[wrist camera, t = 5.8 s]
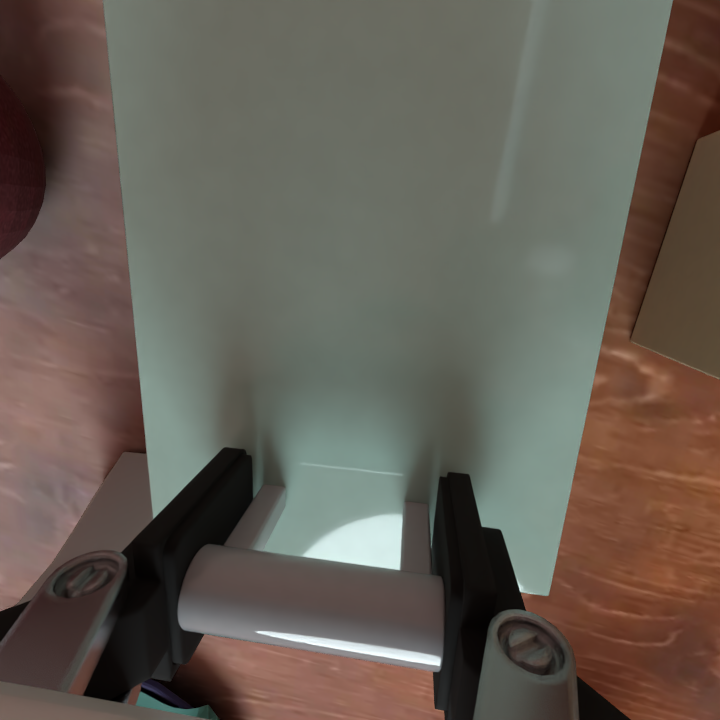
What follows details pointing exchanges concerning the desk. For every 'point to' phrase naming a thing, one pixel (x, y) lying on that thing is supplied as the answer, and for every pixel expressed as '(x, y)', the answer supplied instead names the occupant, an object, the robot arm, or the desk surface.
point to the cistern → (688, 272)
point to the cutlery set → (169, 701)
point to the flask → (108, 515)
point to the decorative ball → (18, 171)
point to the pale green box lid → (372, 283)
